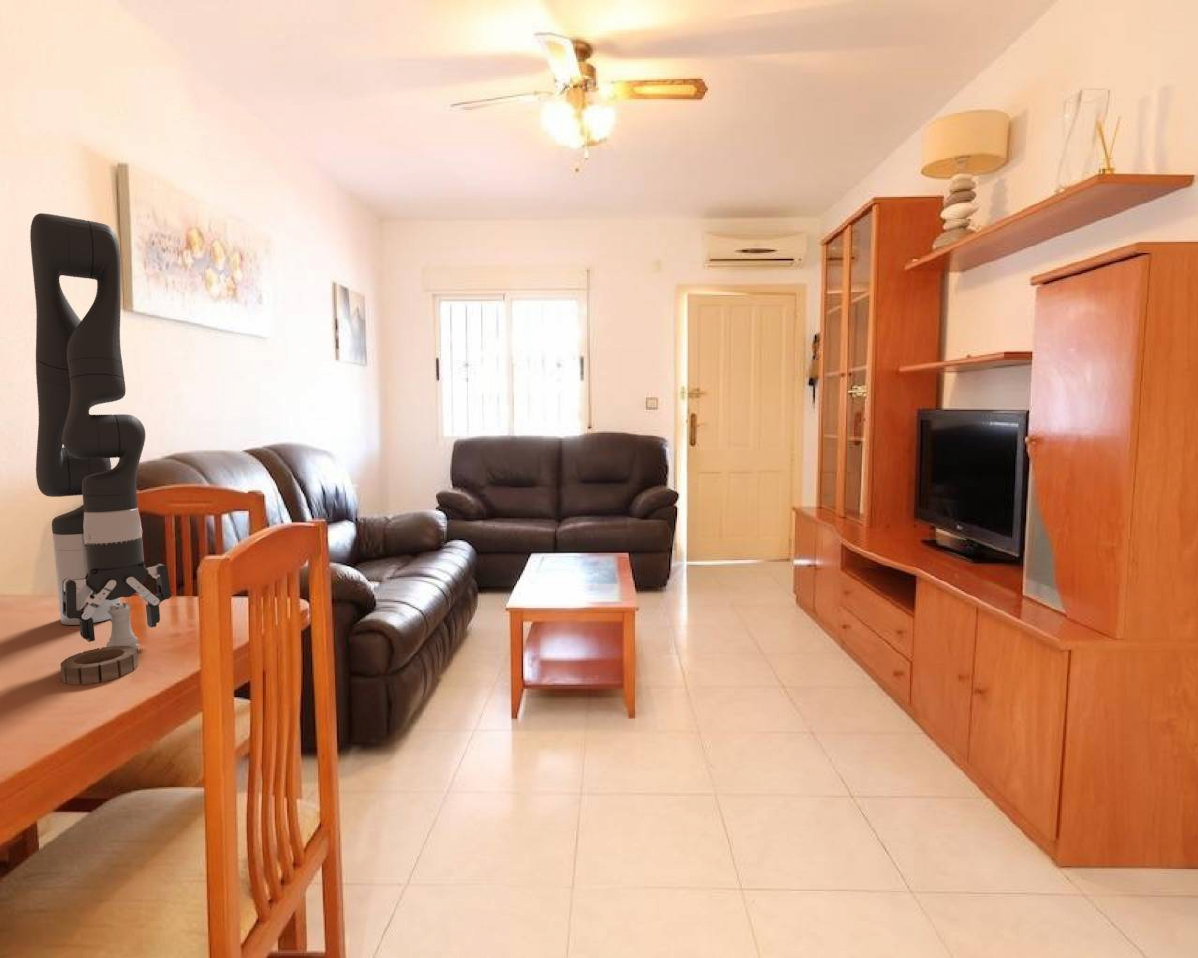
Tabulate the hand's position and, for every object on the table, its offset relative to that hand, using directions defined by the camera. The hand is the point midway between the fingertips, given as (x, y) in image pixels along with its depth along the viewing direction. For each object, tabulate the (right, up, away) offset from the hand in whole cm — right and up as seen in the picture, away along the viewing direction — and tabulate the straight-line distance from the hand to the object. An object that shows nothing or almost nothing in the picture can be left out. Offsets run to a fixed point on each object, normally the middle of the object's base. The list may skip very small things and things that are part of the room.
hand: (122, 633), depth 106 cm
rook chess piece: (0, -3, 0) cm, 3 cm away
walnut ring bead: (+3, -4, -8) cm, 10 cm away
